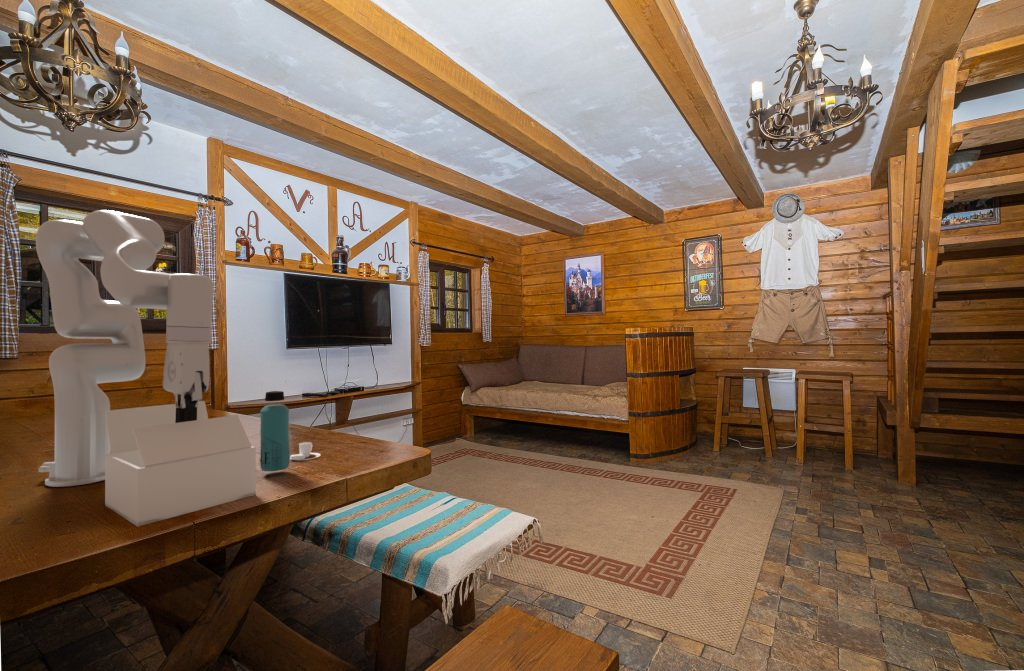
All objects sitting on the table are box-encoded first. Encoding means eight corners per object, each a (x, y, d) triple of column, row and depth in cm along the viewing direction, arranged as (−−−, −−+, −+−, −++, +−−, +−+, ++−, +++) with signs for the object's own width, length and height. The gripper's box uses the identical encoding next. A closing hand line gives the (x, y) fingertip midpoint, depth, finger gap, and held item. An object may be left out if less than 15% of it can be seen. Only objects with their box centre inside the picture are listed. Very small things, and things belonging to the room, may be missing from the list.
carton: (137, 526, 81) (137, 469, 81) (105, 505, 91) (105, 454, 91) (255, 494, 97) (255, 446, 97) (216, 479, 108) (216, 436, 108)
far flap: (105, 410, 94) (105, 411, 95) (111, 453, 92) (111, 454, 92) (204, 400, 109) (203, 401, 109) (212, 437, 107) (210, 438, 107)
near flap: (144, 467, 82) (145, 465, 82) (132, 430, 85) (133, 428, 85) (250, 447, 97) (251, 446, 96) (236, 416, 100) (237, 415, 100)
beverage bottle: (295, 470, 115) (295, 389, 115) (279, 478, 109) (279, 392, 109) (270, 469, 116) (270, 389, 116) (253, 477, 109) (253, 392, 109)
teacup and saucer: (295, 464, 123) (295, 448, 123) (280, 459, 127) (280, 444, 128) (326, 457, 130) (326, 442, 130) (311, 453, 134) (311, 439, 134)
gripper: (152, 334, 94) (149, 424, 95) (183, 337, 86) (179, 436, 86) (194, 334, 101) (191, 419, 101) (226, 337, 92) (223, 430, 92)
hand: (186, 426), depth 93 cm, fingers closed
